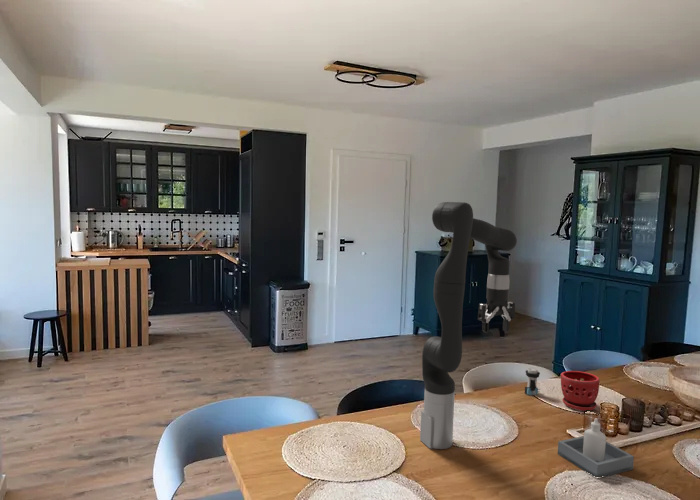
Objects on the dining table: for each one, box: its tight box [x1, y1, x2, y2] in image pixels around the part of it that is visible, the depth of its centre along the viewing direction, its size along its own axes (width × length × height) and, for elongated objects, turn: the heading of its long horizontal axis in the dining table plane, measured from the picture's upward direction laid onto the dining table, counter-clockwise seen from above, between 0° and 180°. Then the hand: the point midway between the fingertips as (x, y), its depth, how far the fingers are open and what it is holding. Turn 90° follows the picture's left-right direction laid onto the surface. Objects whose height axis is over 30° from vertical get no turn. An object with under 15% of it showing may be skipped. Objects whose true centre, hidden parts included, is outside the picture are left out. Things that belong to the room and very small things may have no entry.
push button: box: [524, 367, 541, 396], centre depth 190 cm, size 7×5×10 cm
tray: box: [557, 435, 635, 478], centre depth 139 cm, size 14×14×4 cm
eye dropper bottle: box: [583, 417, 607, 462], centre depth 139 cm, size 4×6×12 cm
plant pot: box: [560, 370, 600, 412], centre depth 179 cm, size 13×13×12 cm
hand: (495, 331), depth 168 cm, fingers open, 8 cm apart
